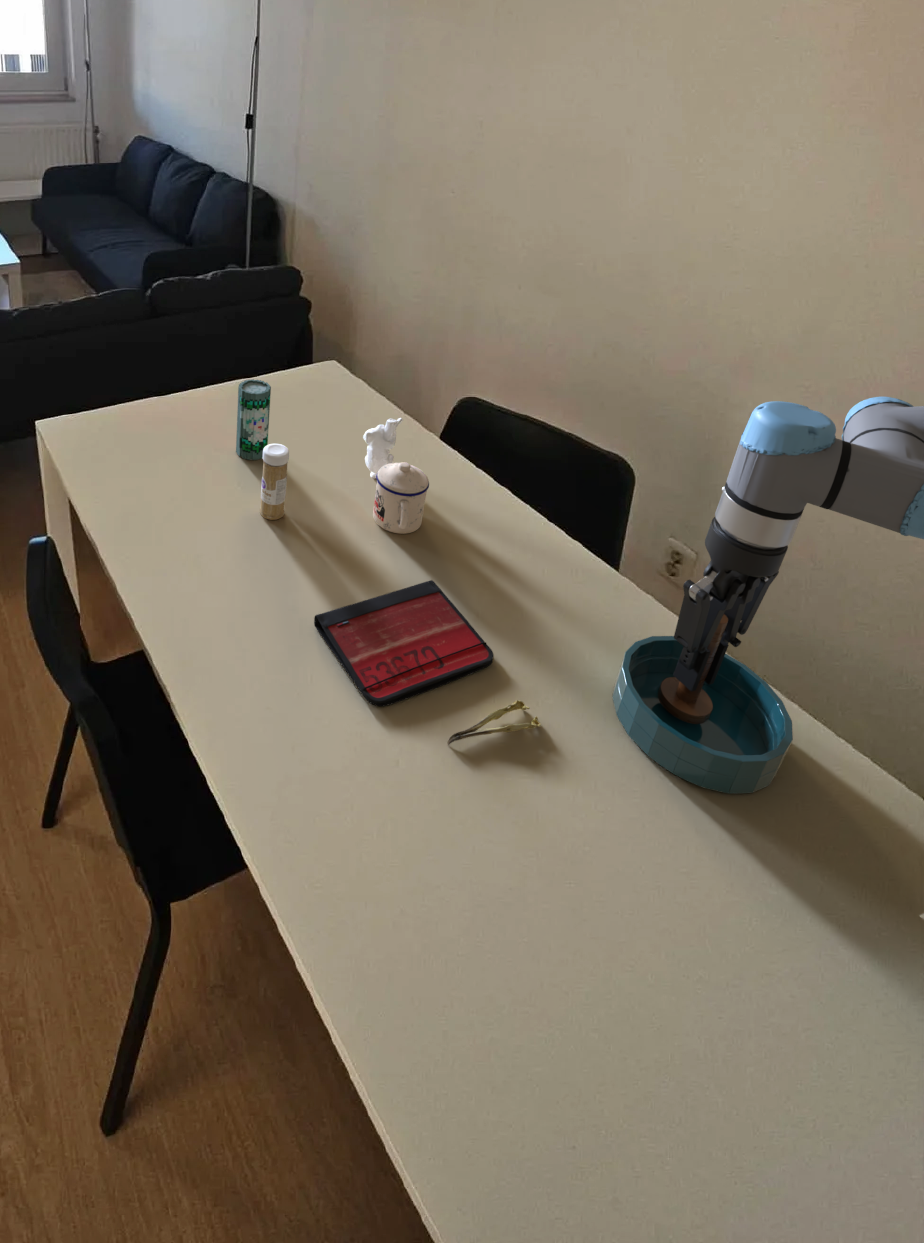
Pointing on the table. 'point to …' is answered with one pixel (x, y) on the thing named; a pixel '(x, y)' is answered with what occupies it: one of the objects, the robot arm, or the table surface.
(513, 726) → the jaw bone
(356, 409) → the table surface
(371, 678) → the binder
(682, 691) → the plunger
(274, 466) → the sprinkles bottle
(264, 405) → the can
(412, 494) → the teacup with lid
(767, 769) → the bowl
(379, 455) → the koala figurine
